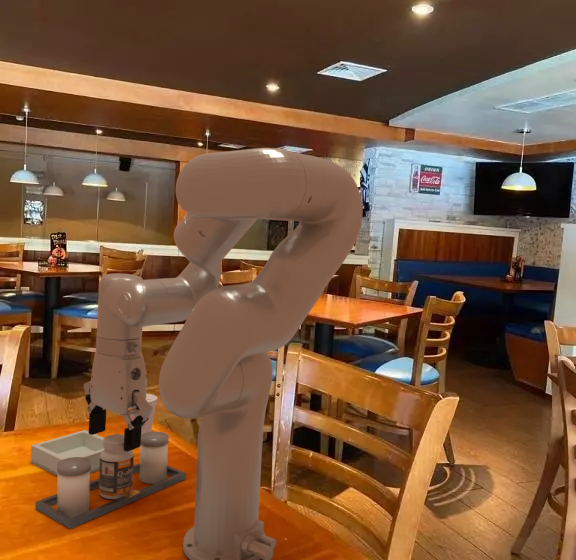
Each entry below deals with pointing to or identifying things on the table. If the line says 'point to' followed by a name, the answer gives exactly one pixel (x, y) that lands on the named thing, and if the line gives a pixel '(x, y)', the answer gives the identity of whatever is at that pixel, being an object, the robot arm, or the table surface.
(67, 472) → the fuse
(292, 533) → the table surface
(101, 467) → the pill bottle
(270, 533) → the table surface
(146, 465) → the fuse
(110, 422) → the table surface
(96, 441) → the tray
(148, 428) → the smoothie
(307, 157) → the robot arm
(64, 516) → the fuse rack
